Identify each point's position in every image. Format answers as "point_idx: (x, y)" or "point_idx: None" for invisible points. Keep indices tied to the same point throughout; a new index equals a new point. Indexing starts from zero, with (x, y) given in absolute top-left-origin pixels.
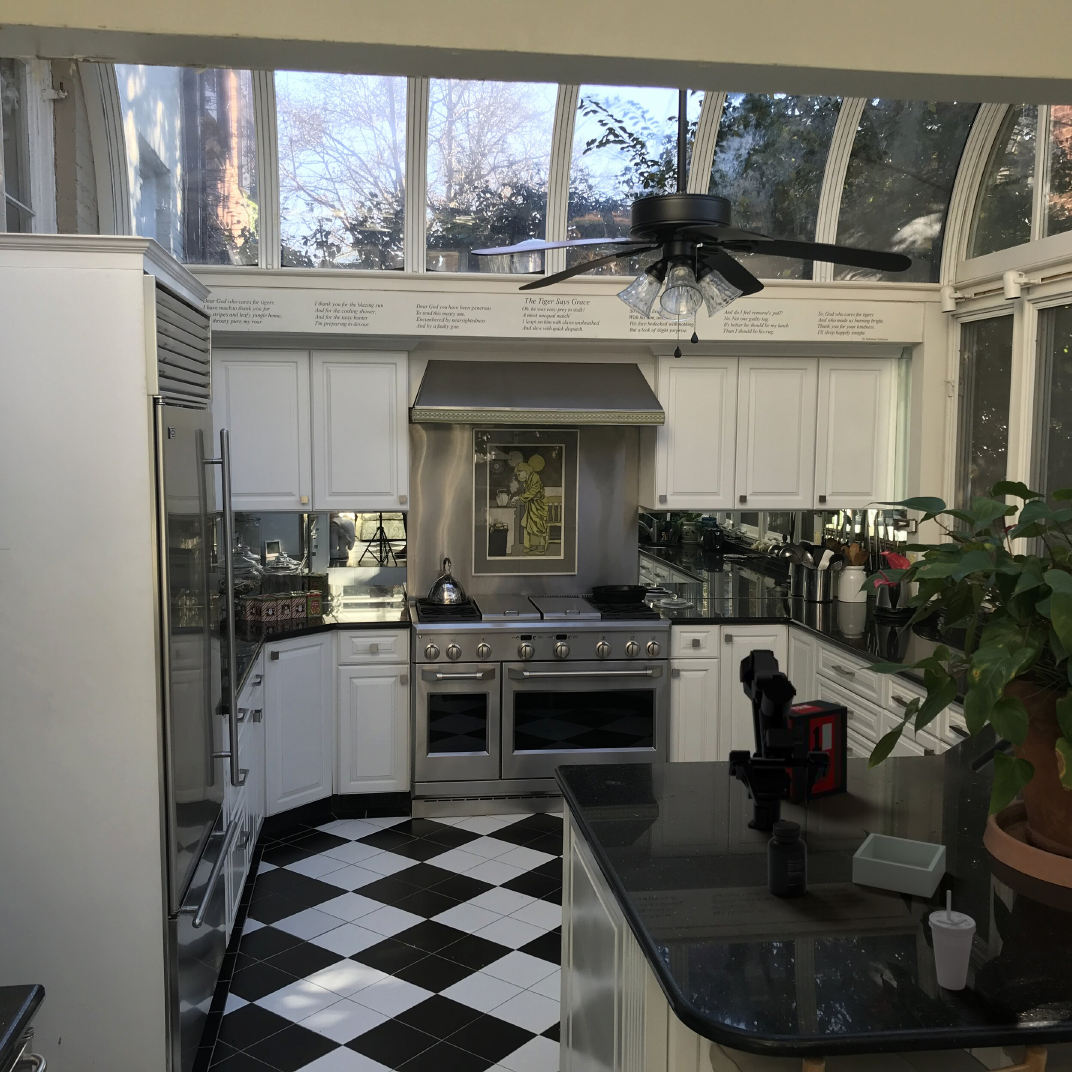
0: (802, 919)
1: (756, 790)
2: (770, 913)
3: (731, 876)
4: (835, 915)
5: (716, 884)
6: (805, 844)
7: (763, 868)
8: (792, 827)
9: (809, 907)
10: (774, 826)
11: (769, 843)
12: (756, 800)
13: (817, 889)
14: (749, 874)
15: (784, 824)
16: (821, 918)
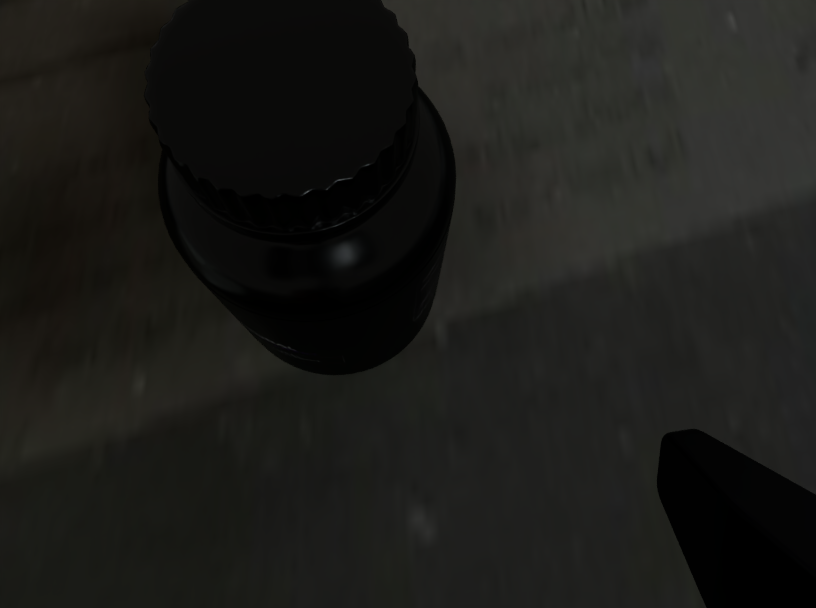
0: None
1: (809, 549)
2: (410, 37)
3: (642, 396)
4: (134, 76)
5: (696, 275)
6: (160, 159)
7: (481, 563)
8: (226, 22)
9: None
10: (402, 29)
11: (441, 123)
12: (708, 443)
13: (186, 331)
14: (551, 449)
15: (303, 85)
16: None
